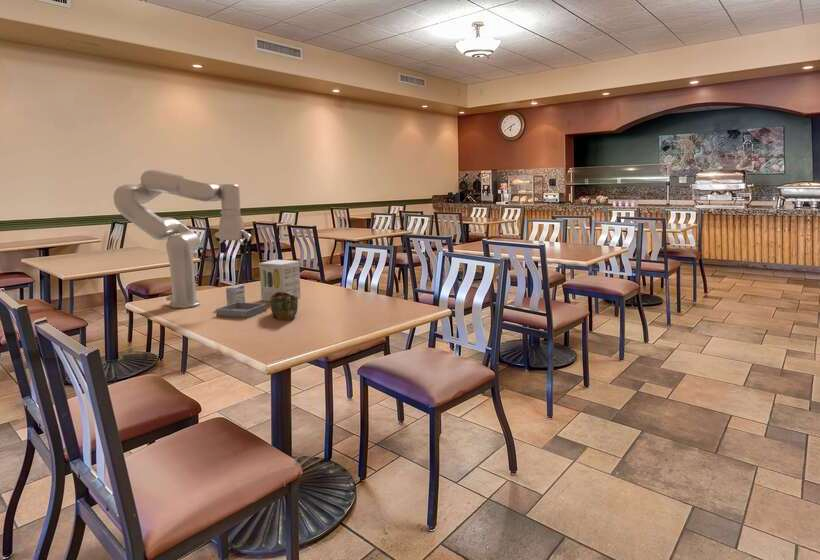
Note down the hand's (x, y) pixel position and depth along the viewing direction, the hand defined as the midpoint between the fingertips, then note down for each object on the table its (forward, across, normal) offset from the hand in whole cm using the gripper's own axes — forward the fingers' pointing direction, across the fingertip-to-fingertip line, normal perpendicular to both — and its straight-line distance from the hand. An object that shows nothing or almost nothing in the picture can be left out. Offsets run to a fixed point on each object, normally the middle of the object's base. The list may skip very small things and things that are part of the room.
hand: (233, 253), depth 225 cm
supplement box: (+23, +11, +19) cm, 32 cm away
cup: (+23, +30, -12) cm, 40 cm away
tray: (+23, +11, -12) cm, 28 cm away
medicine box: (+23, 0, 0) cm, 23 cm away
